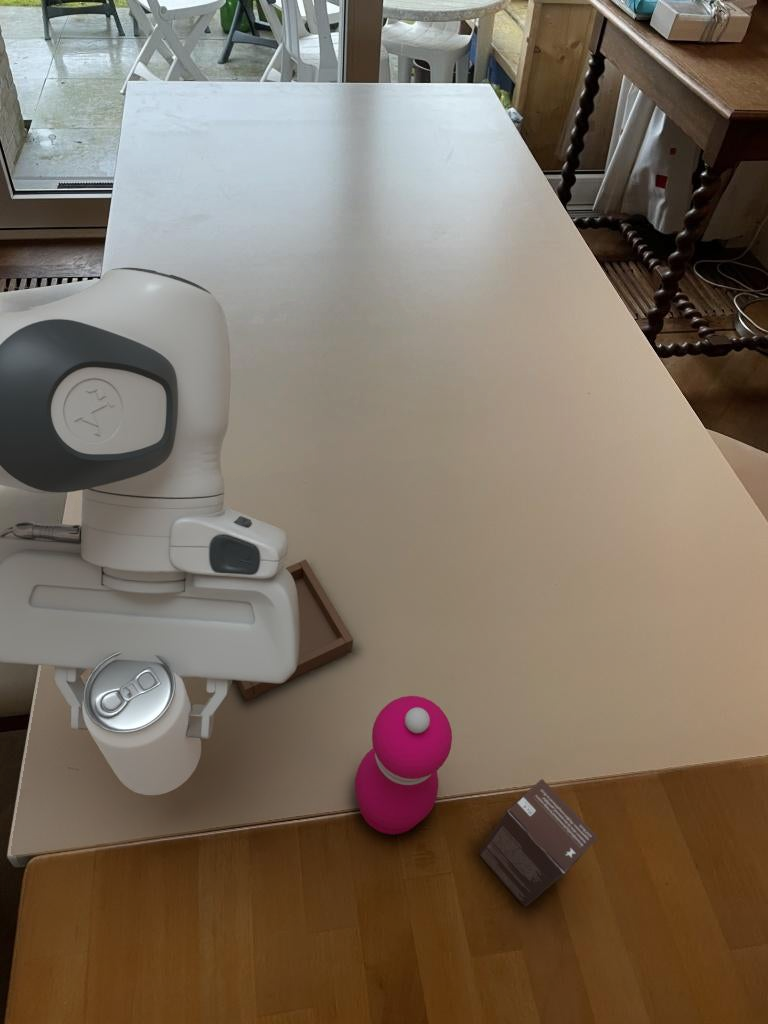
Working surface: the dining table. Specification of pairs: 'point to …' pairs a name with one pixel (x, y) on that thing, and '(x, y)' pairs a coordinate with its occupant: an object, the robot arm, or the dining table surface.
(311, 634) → the tray
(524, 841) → the box
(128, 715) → the can
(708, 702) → the dining table surface
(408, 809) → the pepper mill
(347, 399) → the dining table surface
